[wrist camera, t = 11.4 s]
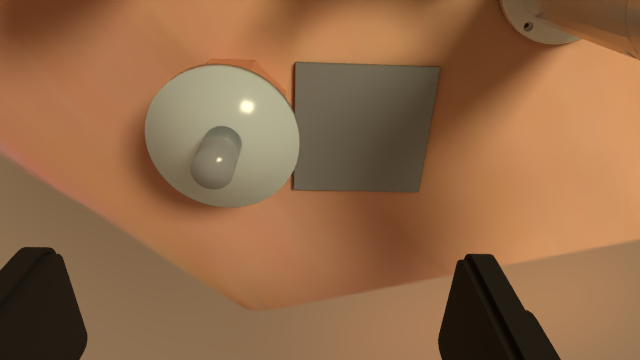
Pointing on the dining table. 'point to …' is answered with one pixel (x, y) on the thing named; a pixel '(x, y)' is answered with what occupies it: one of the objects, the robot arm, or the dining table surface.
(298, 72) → the mat
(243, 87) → the lid
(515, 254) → the dining table surface
